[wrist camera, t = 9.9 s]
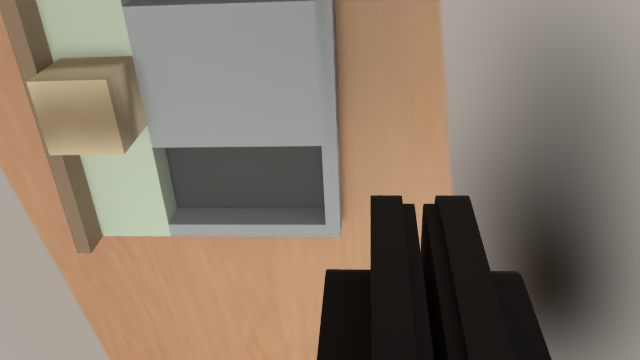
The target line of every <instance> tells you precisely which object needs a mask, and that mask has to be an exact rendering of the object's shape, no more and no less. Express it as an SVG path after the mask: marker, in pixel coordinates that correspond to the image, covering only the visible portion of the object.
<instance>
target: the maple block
mask: <svg viewBox="0 0 640 360" xmlns="http://www.w3.org/2000/svg"><path fill="white" fill-rule="evenodd" d="M26 83H27V86H28V89H29V92H30V95H31V98H32V102H33V105H34V108H35V111H36V114H37V117H38V120H39V123H40V127H41V130H42V133H43V136H44V139H45V142H46V145H47V148H48V152H49V155H107V154H125V153H126V152H127V150H128V149H129V148H130V147H131V145H132V144H133V143H134V141H135V140H136V139H137V138H138V136H139V135H140V134H141V133H142V131H143V130H144V129H145V127H146V126H147V121H146V117H145V112H144V108H143V103H142V98H141V94H140V89H139V85H138V80H137V76H136V71H135V67H134V62H133V57H132V56H116V57H83V58H59V59H58V60H57V61H55V62H54V63H52V64H51V65H49V66H48V67H47V68H45V69H44V70H42V71H41V72H39V73H38V74H37V75H35V76H34V77H32V78H31V79H29V80H28V81H27V82H26Z"/></svg>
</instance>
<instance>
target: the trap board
mask: <svg viewBox="0 0 640 360" xmlns="http://www.w3.org/2000/svg"><path fill="white" fill-rule="evenodd" d="M0 11H1V14H2V17H3V20H4V23H5V26H6V30H7V33H8V36H9V39H10V42H11V45H12V49H13V52H14V55H15V58H16V61H17V64H18V67H19V71H20V74H21V77H22V80H23V83H24V86H25V90H26V93H27V96H28V99H29V102H30V105H31V108H32V112H33V115H34V118H35V121H36V124H37V127H38V131H39V134H40V137H41V140H42V143H43V146H44V150H45V153H46V156H47V159H48V162H49V165H50V168H51V172H52V175H53V178H54V181H55V184H56V187H57V191H58V194H59V197H60V200H61V203H62V206H63V209H64V213H65V216H66V219H67V222H68V225H69V228H70V232H71V235H72V238H73V241H74V244H75V247H76V251H77V253H92V251H93V250H94V248H95V247H96V245H97V244H98V242H99V241H100V239H101V238H102V236H244V237H341V226H342V198H341V169H340V140H339V111H338V82H337V53H336V24H335V0H0ZM116 56H132V57H133V62H134V67H135V71H136V76H137V80H138V85H139V89H140V94H141V98H142V103H143V108H144V112H145V117H146V121H147V126H146V127H145V129H144V130H143V131H142V133H141V134H140V135H139V136H138V138H137V139H136V140H135V141H134V143H133V144H132V145H131V147H130V148H129V149H128V150H127V152H126V153H125V154H107V155H49V152H48V148H47V145H46V142H45V139H44V136H43V133H42V130H41V127H40V123H39V120H38V117H37V114H36V111H35V108H34V105H33V102H32V98H31V95H30V92H29V89H28V86H27V83H26V82H27V81H28V80H29V79H31V78H32V77H34V76H35V75H37V74H38V73H39V72H41V71H42V70H44V69H45V68H47V67H48V66H49V65H51V64H52V63H54V62H55V61H57V60H58V59H59V58H83V57H116Z"/></svg>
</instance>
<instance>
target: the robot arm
mask: <svg viewBox="0 0 640 360" xmlns="http://www.w3.org/2000/svg"><path fill="white" fill-rule="evenodd" d="M317 360H551V357H550V354H549V351H548V349H547V346H546V343H545V340H544V337H543V335H542V332H541V329H540V326H539V323H538V320H537V317H536V315H535V312H534V309H533V306H532V303H531V301H530V298H529V295H528V292H527V289H526V286H525V284H524V281H523V278H522V276H521V274H520V273H518V272H516V271H515V272H514V271H513V272H512V271H490V268H489V264H488V260H487V257H486V254H485V250H484V246H483V243H482V239H481V236H480V233H479V229H478V225H477V222H476V219H475V215H474V211H473V208H472V204H471V201H470V198H469V196H436V197H435V204H424V205H423V217H422V236H421V252H420V245H419V237H418V229H417V221H416V213H415V206H414V204H403V202H402V196H371V270H338V269H327V270H326V275H325V284H324V294H323V304H322V315H321V325H320V335H319V345H318V355H317Z"/></svg>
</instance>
